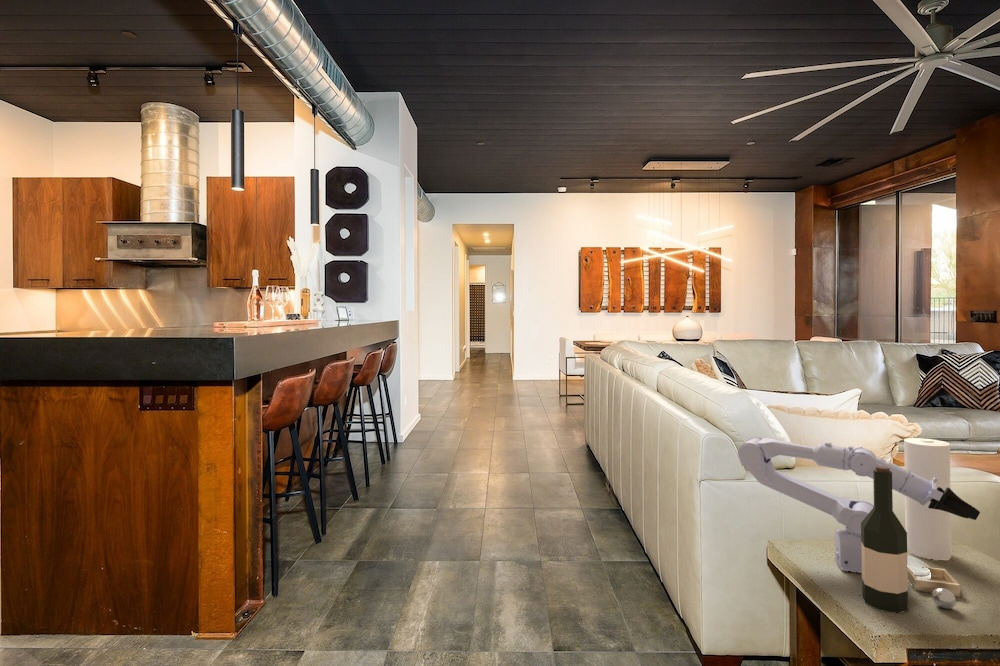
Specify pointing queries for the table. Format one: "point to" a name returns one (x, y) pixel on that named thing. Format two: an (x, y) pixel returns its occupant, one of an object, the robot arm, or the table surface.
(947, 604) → the ball
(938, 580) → the tray
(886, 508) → the wine bottle
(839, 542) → the robot arm
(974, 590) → the table surface
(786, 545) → the table surface
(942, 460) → the paper towel roll
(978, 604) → the table surface
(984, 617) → the table surface
